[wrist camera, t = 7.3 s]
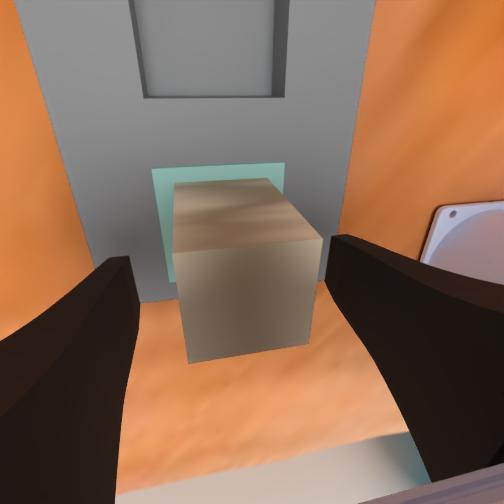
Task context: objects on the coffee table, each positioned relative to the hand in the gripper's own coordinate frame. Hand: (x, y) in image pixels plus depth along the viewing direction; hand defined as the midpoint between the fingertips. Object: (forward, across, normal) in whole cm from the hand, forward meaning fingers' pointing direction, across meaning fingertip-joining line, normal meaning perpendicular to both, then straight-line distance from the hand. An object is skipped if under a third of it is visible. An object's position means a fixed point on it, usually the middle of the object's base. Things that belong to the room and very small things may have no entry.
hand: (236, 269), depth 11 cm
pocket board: (+6, 0, -4) cm, 8 cm away
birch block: (+4, 0, 0) cm, 4 cm away
